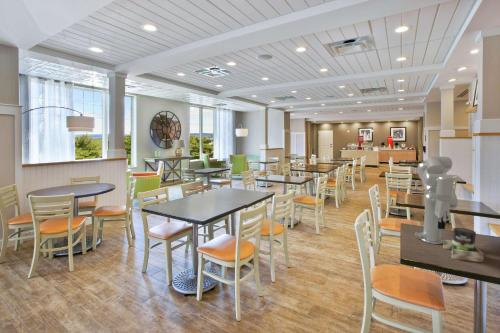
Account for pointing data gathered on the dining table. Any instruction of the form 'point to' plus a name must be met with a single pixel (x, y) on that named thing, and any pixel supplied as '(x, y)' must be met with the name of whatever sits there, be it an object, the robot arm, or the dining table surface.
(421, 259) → the dining table surface
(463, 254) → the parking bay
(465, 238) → the coffee can
